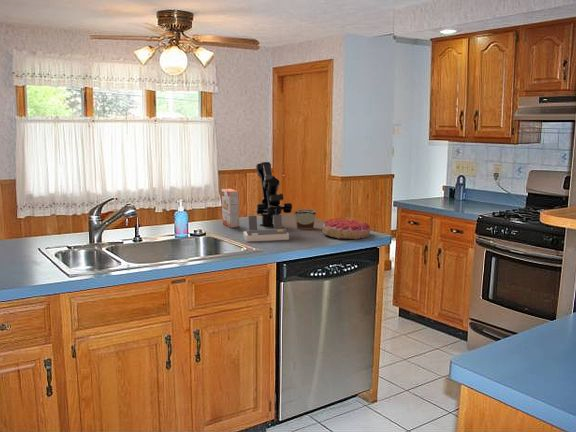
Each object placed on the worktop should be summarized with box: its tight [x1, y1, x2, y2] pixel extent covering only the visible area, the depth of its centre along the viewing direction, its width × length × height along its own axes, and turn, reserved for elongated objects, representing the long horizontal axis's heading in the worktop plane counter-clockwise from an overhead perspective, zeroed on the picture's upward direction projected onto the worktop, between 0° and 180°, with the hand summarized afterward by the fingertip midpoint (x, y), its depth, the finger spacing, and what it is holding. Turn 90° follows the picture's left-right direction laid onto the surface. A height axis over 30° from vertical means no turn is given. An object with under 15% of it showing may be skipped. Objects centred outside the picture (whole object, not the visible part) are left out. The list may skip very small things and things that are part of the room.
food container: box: [294, 209, 317, 230], centre depth 310 cm, size 12×6×10 cm, turn 84°
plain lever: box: [248, 215, 258, 230], centre depth 281 cm, size 2×4×8 cm, turn 101°
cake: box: [322, 217, 371, 240], centre depth 289 cm, size 25×25×8 cm
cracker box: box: [221, 188, 240, 229], centre depth 315 cm, size 14×6×21 cm, turn 25°
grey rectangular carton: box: [273, 214, 283, 229], centre depth 283 cm, size 2×4×8 cm, turn 101°
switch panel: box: [242, 227, 290, 242], centre depth 281 cm, size 11×22×6 cm, turn 102°
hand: (276, 221), depth 287 cm, fingers closed
